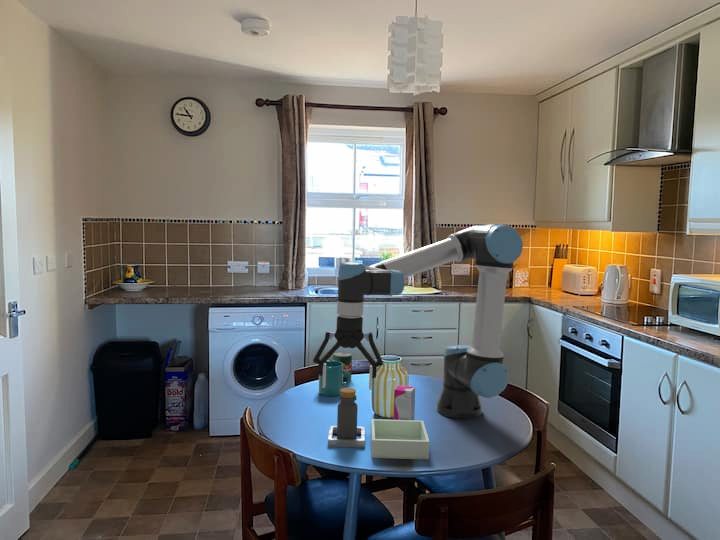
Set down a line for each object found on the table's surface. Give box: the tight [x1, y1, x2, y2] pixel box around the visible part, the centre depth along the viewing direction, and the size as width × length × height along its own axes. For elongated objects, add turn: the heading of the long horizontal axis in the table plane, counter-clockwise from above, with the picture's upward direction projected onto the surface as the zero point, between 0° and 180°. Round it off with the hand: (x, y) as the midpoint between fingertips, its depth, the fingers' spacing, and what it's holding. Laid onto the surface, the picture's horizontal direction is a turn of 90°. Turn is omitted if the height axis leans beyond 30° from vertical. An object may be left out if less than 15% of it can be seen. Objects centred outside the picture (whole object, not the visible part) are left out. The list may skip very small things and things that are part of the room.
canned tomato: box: [332, 350, 353, 382], centre depth 216 cm, size 8×8×11 cm
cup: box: [318, 360, 352, 397], centre depth 199 cm, size 9×12×11 cm
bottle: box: [336, 387, 358, 439], centre depth 156 cm, size 6×6×15 cm
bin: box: [370, 418, 430, 460], centre depth 152 cm, size 16×16×5 cm
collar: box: [327, 425, 366, 448], centre depth 156 cm, size 10×10×2 cm
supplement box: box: [392, 385, 416, 420], centre depth 171 cm, size 6×6×12 cm
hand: (347, 387), depth 155 cm, fingers open, 13 cm apart
